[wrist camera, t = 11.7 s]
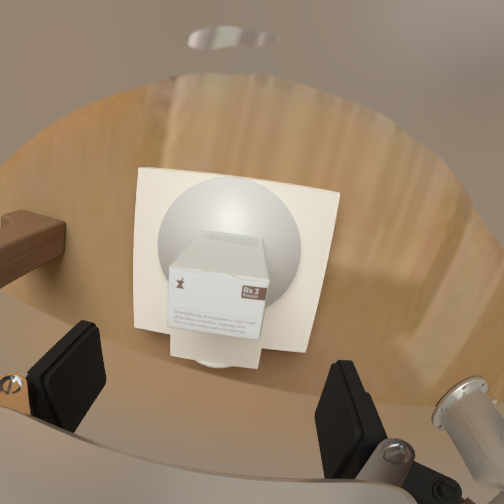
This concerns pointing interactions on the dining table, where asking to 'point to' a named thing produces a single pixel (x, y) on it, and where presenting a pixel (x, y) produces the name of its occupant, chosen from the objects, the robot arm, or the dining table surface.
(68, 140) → the dining table surface
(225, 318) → the skincare box
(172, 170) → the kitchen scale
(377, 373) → the dining table surface
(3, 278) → the wooden block
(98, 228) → the dining table surface
